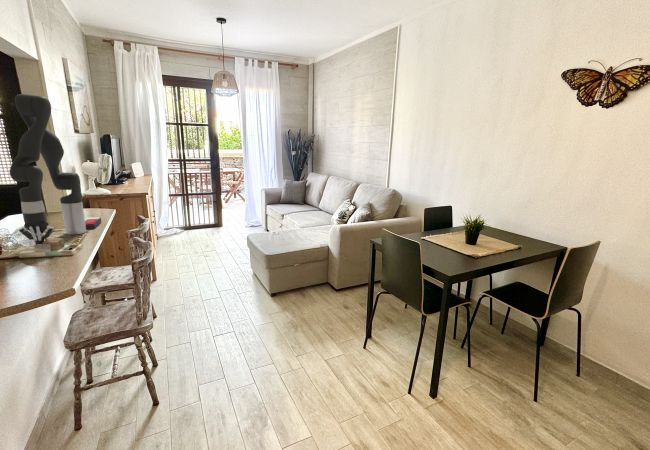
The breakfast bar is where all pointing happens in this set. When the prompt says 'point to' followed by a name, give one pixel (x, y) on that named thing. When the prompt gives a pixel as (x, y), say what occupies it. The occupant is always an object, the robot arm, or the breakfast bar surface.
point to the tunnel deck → (49, 250)
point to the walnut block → (55, 243)
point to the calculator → (92, 222)
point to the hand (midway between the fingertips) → (40, 247)
